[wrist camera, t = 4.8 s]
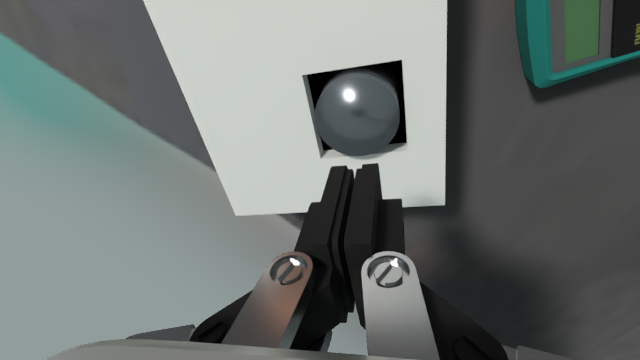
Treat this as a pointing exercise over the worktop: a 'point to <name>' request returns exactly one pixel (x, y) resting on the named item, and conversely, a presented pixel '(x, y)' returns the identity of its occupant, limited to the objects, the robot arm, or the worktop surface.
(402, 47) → the panel
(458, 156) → the worktop surface
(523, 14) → the digital multimeter
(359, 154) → the charcoal plunger
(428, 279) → the worktop surface
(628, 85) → the worktop surface
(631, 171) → the worktop surface
